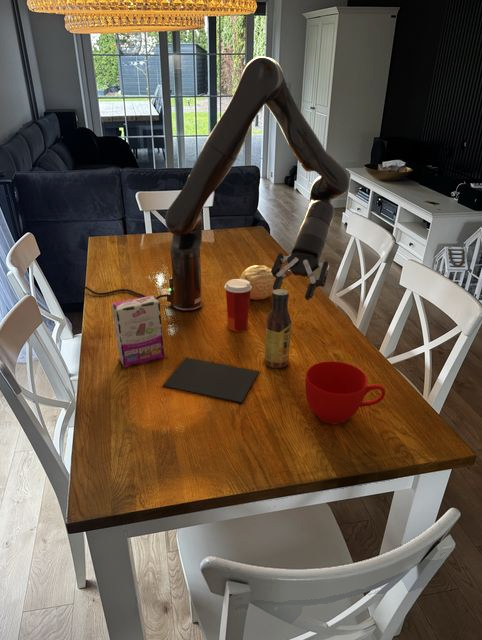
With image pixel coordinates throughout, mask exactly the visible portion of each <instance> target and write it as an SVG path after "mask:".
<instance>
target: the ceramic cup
mask: <svg viewBox="0 0 482 640" xmlns="http://www.w3.org/2000/svg"><path fill="white" fill-rule="evenodd" d="M304 380H305V381H304V382H305V383H304V389H305V398H306V401H307V404H308V406H309V408H310V409H311V411H312V412H313V414H314V415H315V416H316V417H317V418H318V419H319V420H320V421H321V422H324V423H326V424H331V425H338V424H341V423H343V422H346V420H348V419H351V417H354V415H355V414H356V413H357V412H358V411H359V409H361V408H364V407H369V406H374V405H376V404H378V403H381V401H383V400H384V399H385V396H386V389H385V388H384V386H383V385H381V384H377V383H375V384H374V383H373V384H369V379H368V376H367V375H366V373H365V372H364V371H363V370H361V369H360V368H358V367H357V366H355V365H352V364H350V363H346V362H343V361H334V360H333V361H332V360H331V361H329V360H328V361H322V362H317V363H315V364H313V365H311V366H310V367H309V368H308V369H307V370H306V373H305V377H304ZM368 384H369V385H368ZM373 390H379V391H381V394H380V395H379V396H378V397H376V398H374V399H370V400H367V401H364V399H365V396H367V394H368V393H369V392H370V391H373Z"/></svg>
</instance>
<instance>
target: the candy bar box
mask: <svg viewBox="0 0 482 640" xmlns="http://www.w3.org/2000/svg"><path fill="white" fill-rule="evenodd" d="M146 296H147V295H146ZM111 308H112V315H113V322H114V329H115V336H116V343H117V351H118V359H119V361H120V362H121V365H122V366H123V367H124V368H129V367H133V366H137V365H140V364H146V363H149V362H153V361H156V360H160V359H164V358H165V348H164V337H163V326H162V314H161V303H160V301H159V299H156V296H155V294H154V295H153V294H152V295H148V296H147V297H142V296H141V297H138V298H137V297H136V298H132V299H126V300H123V301H122V300H121V301H117V302H112V303H111Z"/></svg>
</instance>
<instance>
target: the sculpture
mask: <svg viewBox="0 0 482 640" xmlns="http://www.w3.org/2000/svg"><path fill="white" fill-rule="evenodd" d="M271 270H272V268H270V267H268V266H267V265H265V264H263V265H251V266H249V267H247V268H245V270H244V271H243V272H242V273H241V275H240V277H239V279H244V280H247V281H249V282H250V285H251V287H252V289H251V291H250V300H254V301H260V300H261V301H262V300H265V299H267V298H269V297H270V296H271V295H272V292H273V291H274V289H273V285H274V282H275V279H276V277H274V276H273V275H272V273H271Z"/></svg>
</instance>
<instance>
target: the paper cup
mask: <svg viewBox="0 0 482 640" xmlns="http://www.w3.org/2000/svg"><path fill="white" fill-rule="evenodd" d="M223 288H224V289H225V297H226V298H225V299H226V314H227V315H226V316H227V317H226V318H227V327H228V329H229V330H230V331H232V332H243V331H245V330H247V329H248V322H249V311H250V303H251V302H250V300H251V299H250V291H251V289H252V287H251V285H250V282H249V281H247V280H244V279H240V278H233V279H229V280H228V281H226V283H225V285H224V287H223Z"/></svg>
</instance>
